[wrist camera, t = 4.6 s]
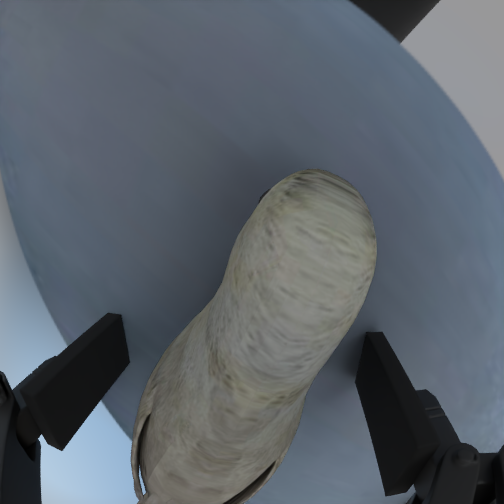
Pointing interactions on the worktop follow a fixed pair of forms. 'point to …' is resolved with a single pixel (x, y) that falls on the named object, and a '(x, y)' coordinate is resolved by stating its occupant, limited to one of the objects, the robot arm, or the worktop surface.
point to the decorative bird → (255, 346)
